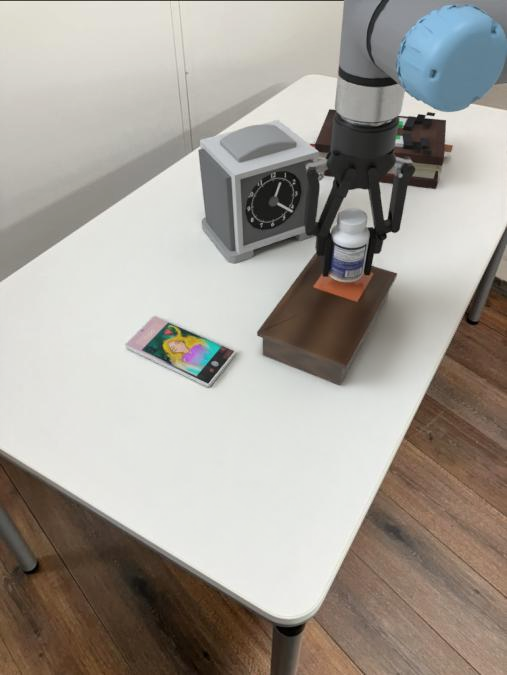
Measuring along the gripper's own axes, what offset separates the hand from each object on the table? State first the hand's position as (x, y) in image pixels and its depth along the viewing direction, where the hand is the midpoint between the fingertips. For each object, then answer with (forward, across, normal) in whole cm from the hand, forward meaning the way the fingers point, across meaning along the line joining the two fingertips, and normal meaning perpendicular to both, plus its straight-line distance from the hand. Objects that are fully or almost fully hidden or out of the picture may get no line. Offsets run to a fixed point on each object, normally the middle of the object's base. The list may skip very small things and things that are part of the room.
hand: (345, 269), depth 76 cm
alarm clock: (+7, +12, -21) cm, 25 cm away
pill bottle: (+1, 0, 0) cm, 1 cm away
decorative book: (+7, -14, -45) cm, 48 cm away
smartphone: (+7, +25, +9) cm, 27 cm away
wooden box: (+7, +2, +4) cm, 9 cm away
